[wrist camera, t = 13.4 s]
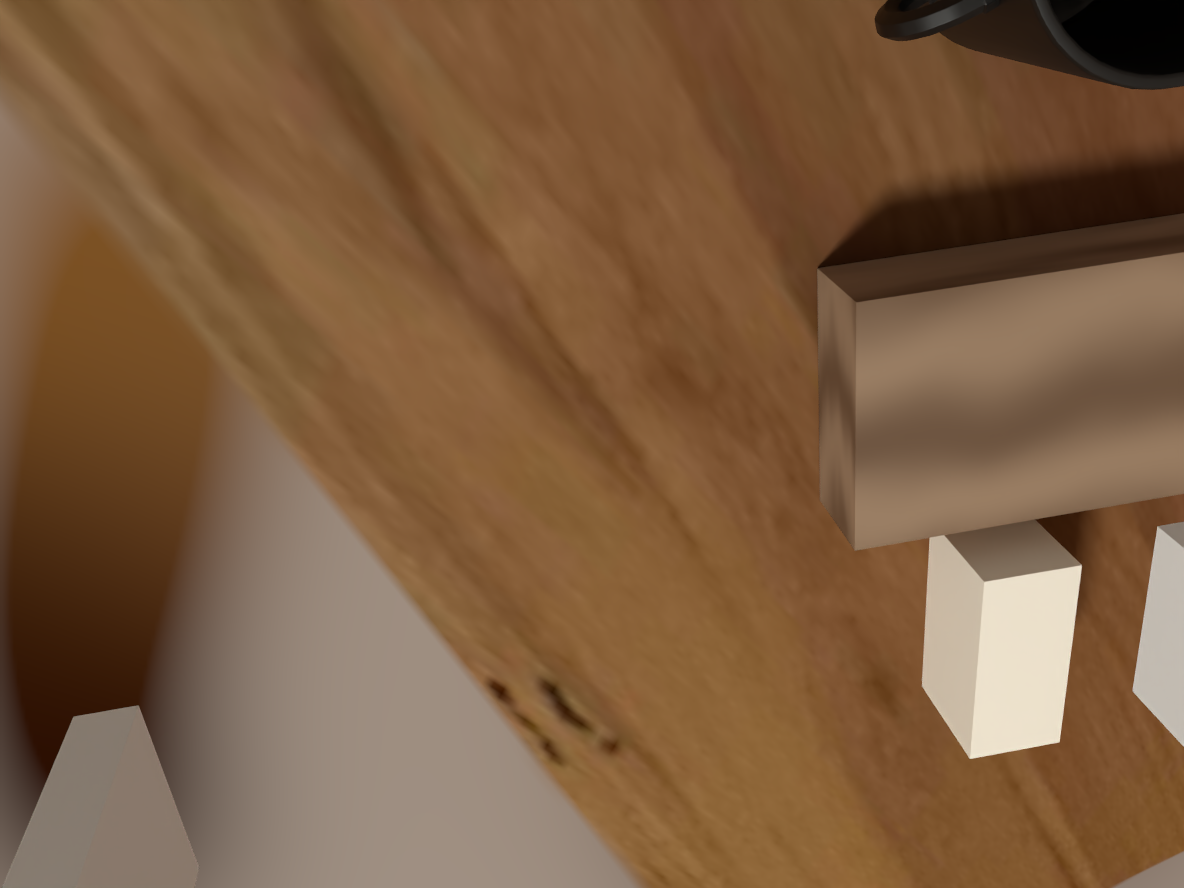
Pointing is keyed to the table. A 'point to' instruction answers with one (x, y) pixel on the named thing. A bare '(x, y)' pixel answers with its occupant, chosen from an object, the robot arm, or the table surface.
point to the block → (1000, 635)
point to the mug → (1057, 34)
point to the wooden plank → (1002, 381)
